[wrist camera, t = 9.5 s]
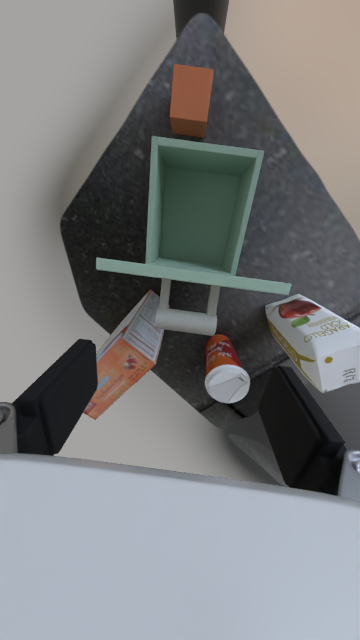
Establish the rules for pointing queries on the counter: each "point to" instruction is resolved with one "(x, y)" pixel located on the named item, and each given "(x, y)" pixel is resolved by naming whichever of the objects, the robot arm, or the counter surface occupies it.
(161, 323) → the lid
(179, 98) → the block
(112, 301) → the counter surface
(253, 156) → the compartment
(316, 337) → the juice carton
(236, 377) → the paper cup
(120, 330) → the cracker box
